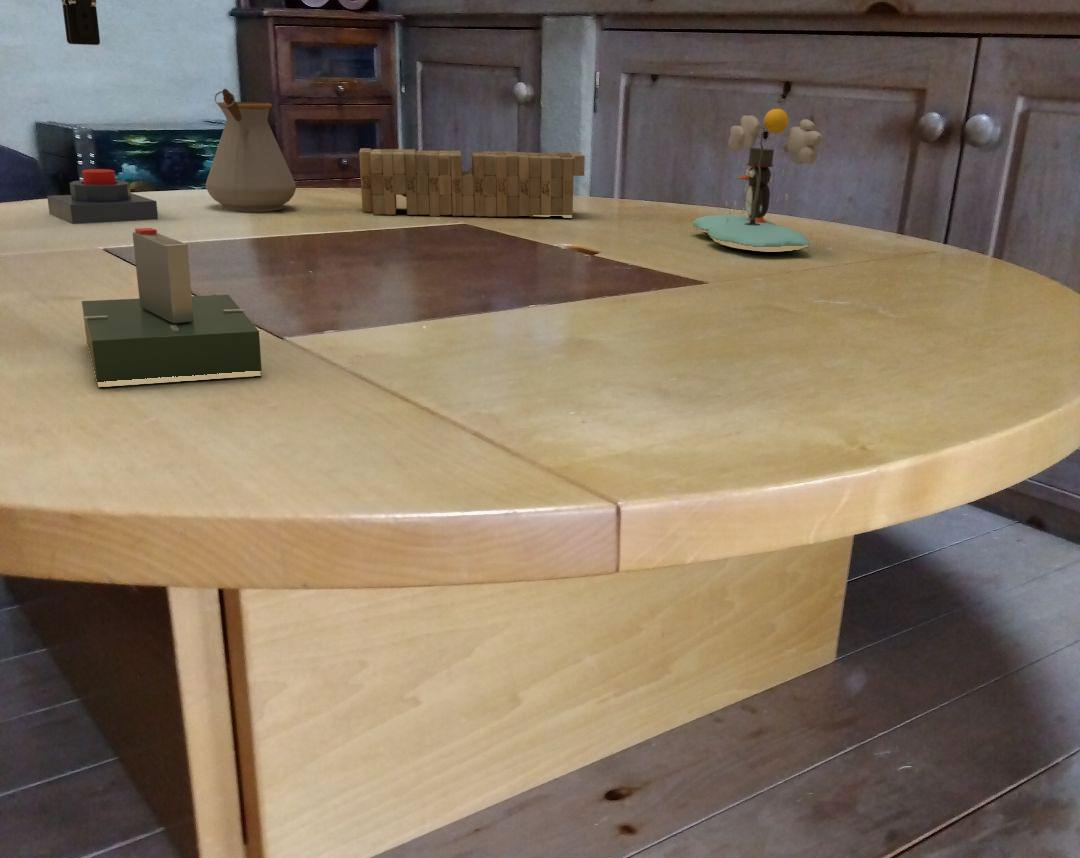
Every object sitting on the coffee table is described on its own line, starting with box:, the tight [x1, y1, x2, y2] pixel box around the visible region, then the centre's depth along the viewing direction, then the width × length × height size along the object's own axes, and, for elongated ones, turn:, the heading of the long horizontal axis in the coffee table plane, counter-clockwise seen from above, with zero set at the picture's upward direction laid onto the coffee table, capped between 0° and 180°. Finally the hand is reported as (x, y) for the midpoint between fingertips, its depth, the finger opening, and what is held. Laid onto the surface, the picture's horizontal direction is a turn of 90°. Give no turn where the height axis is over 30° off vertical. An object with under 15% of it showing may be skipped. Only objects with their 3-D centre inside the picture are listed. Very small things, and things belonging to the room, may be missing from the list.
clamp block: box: [81, 294, 263, 383], centre depth 75 cm, size 10×12×3 cm
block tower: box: [358, 147, 586, 217], centre depth 149 cm, size 8×8×29 cm
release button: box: [81, 168, 117, 185], centre depth 133 cm, size 4×4×2 cm
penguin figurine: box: [691, 108, 823, 247], centre depth 130 cm, size 20×11×15 cm, turn 6°
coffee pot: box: [205, 88, 297, 213], centre depth 140 cm, size 21×12×15 cm, turn 5°
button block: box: [46, 179, 159, 225], centre depth 134 cm, size 10×9×4 cm
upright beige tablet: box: [132, 227, 194, 324], centre depth 74 cm, size 6×1×5 cm, turn 38°
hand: (83, 44), depth 127 cm, fingers closed
